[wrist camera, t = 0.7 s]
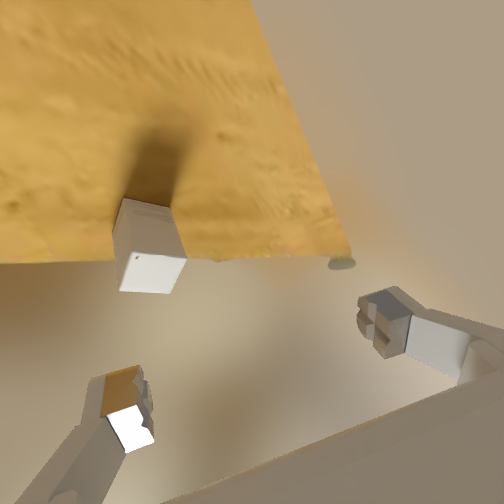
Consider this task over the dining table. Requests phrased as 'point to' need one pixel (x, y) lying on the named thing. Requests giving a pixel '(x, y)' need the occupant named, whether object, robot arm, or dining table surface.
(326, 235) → the dining table surface
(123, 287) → the supplement box
